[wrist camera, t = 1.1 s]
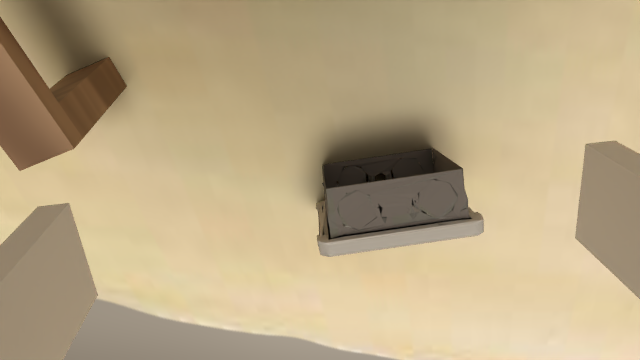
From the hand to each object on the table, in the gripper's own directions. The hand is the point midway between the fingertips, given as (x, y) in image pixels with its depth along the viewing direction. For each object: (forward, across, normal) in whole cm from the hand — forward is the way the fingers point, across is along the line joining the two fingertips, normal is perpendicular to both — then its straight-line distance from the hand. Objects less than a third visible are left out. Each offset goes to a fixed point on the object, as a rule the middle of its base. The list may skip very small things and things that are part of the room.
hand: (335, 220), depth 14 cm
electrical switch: (+22, +4, -8) cm, 24 cm away
